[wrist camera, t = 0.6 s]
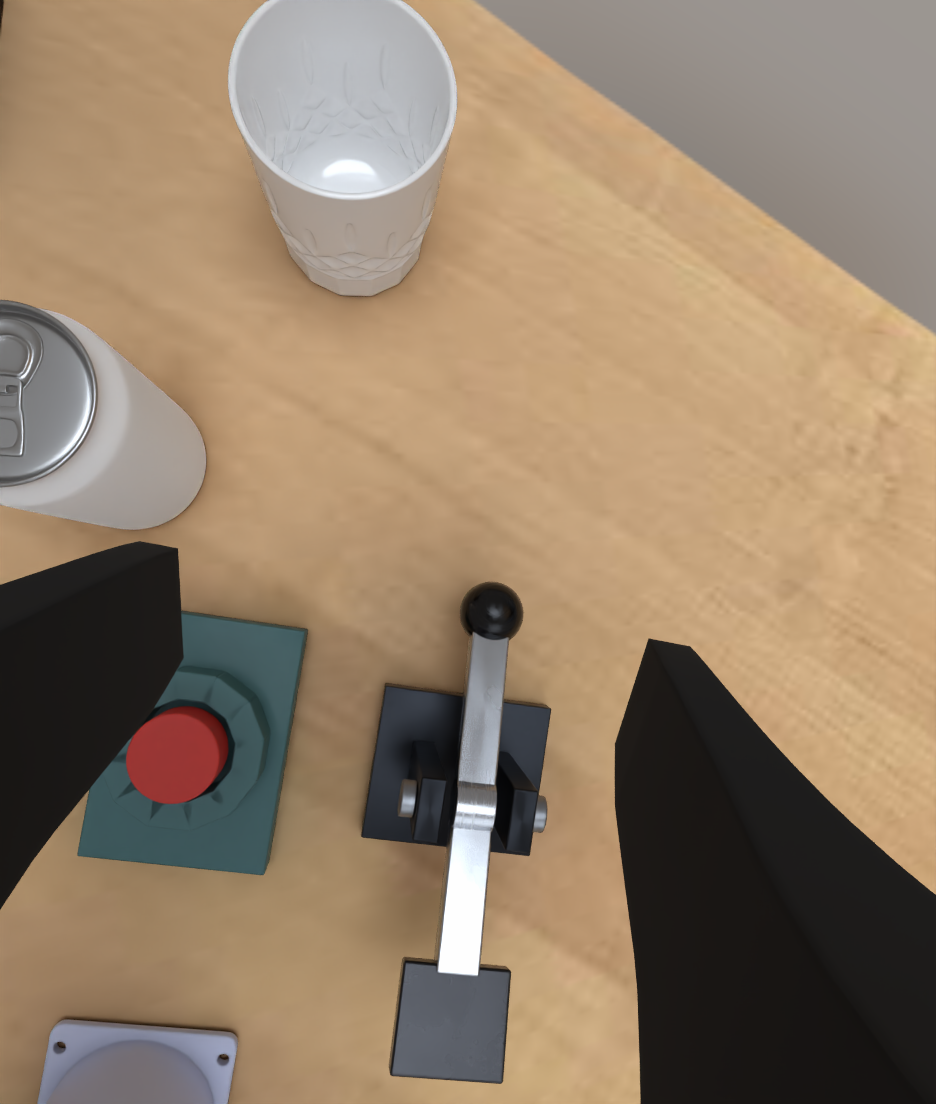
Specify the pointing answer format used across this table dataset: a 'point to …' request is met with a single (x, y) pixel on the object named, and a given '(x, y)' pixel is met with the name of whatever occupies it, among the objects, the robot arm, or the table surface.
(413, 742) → the bracket
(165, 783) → the button
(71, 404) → the can
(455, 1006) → the lever
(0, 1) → the brown coffee grinder
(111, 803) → the button block
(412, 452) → the table surface
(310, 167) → the white cup
